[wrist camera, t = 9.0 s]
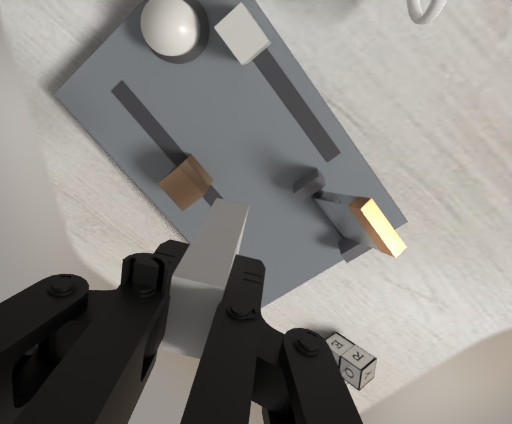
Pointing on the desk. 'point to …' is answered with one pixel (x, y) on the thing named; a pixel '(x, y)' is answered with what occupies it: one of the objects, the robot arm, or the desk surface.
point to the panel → (229, 139)
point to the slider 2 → (242, 34)
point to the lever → (359, 221)
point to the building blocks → (352, 361)
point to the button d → (170, 26)
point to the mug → (429, 15)
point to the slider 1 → (186, 183)
